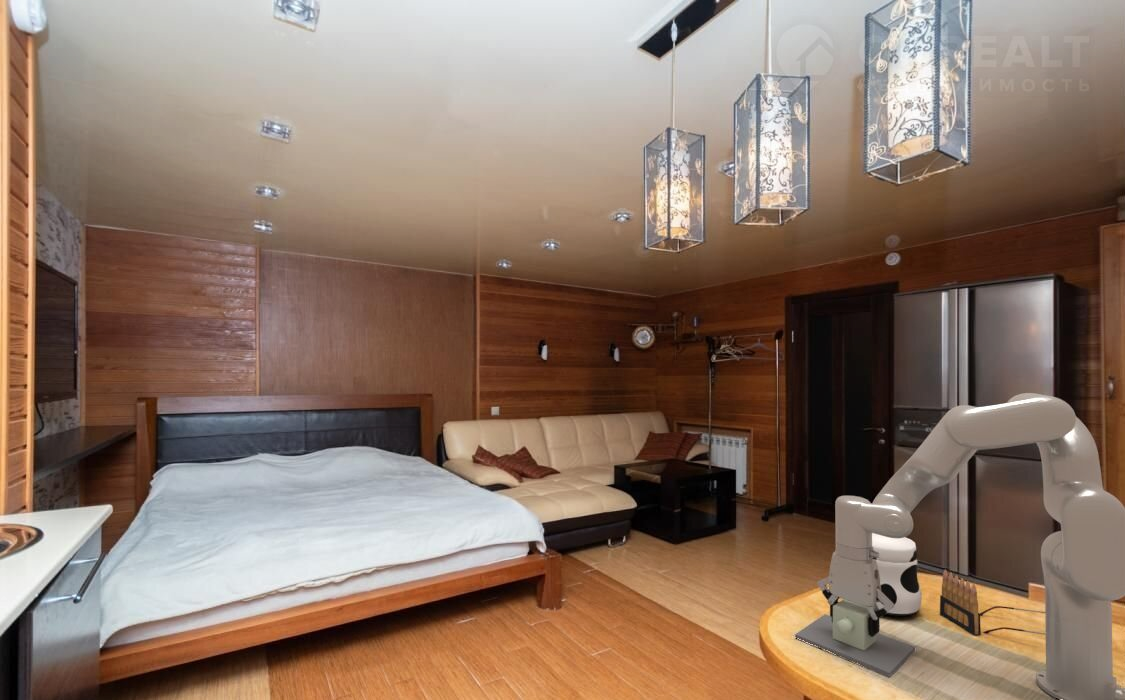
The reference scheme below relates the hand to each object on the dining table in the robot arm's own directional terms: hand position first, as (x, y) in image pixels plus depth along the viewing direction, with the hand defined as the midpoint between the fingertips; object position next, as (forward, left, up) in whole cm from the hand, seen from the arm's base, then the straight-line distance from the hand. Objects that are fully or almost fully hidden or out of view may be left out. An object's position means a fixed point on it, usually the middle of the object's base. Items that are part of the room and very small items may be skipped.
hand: (854, 627), depth 122 cm
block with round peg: (0, +2, -3) cm, 3 cm away
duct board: (0, 0, -4) cm, 4 cm away
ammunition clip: (-13, -31, -4) cm, 34 cm away
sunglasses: (-24, -38, -5) cm, 45 cm away
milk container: (+3, -27, -4) cm, 27 cm away
